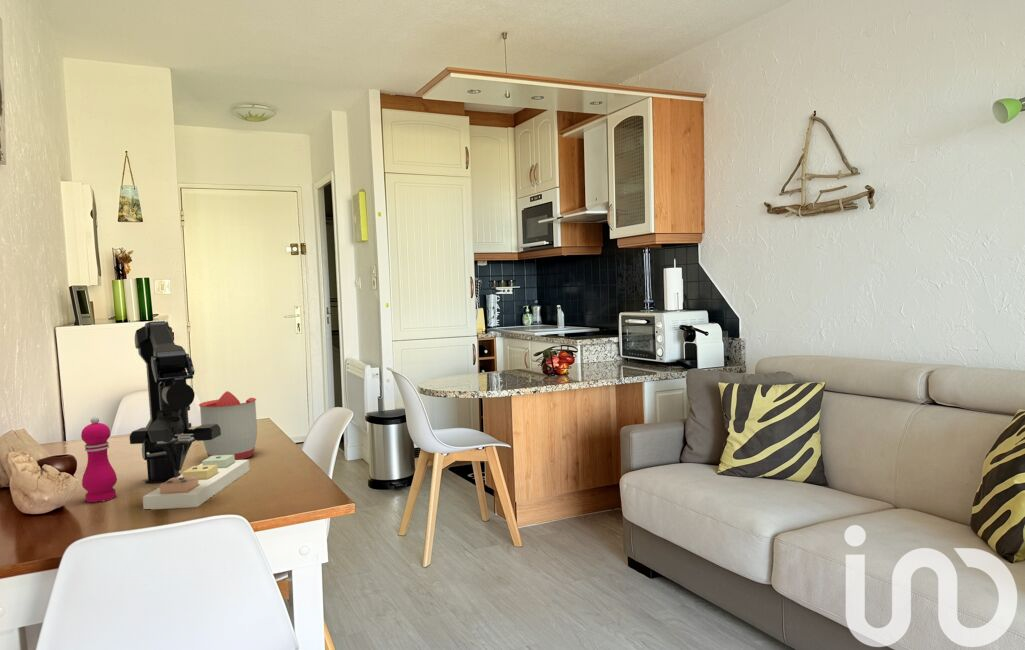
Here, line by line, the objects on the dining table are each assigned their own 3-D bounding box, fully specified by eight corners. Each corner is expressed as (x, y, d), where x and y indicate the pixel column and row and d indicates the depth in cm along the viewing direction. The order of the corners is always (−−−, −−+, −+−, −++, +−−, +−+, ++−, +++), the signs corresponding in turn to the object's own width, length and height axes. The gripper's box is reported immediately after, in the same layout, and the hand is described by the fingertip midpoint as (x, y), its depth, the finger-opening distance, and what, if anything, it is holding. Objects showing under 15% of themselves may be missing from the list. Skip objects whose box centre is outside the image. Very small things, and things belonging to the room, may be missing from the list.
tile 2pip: (183, 481, 168) (182, 471, 168) (194, 475, 174) (193, 465, 174) (207, 480, 168) (206, 470, 168) (217, 473, 174) (217, 464, 174)
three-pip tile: (160, 494, 157) (159, 483, 157) (173, 487, 163) (172, 476, 163) (186, 493, 157) (186, 482, 157) (198, 486, 163) (197, 475, 163)
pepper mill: (93, 505, 161) (86, 420, 160) (77, 501, 165) (70, 418, 164) (124, 496, 167) (117, 415, 166) (108, 493, 171) (102, 413, 170)
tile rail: (143, 509, 155) (142, 496, 155) (205, 472, 187) (204, 461, 187) (197, 507, 155) (196, 494, 155) (249, 470, 187) (248, 459, 187)
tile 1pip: (202, 469, 179) (202, 460, 179) (212, 464, 185) (211, 454, 185) (225, 468, 179) (225, 459, 179) (234, 462, 185) (234, 453, 185)
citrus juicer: (272, 450, 211) (268, 385, 210) (241, 465, 194) (236, 394, 193) (226, 450, 214) (222, 387, 213) (191, 465, 197) (186, 395, 196)
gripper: (113, 412, 151) (118, 482, 152) (198, 408, 151) (203, 477, 152) (140, 403, 162) (145, 469, 163) (219, 399, 162) (224, 465, 163)
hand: (178, 470), depth 160 cm, fingers closed
